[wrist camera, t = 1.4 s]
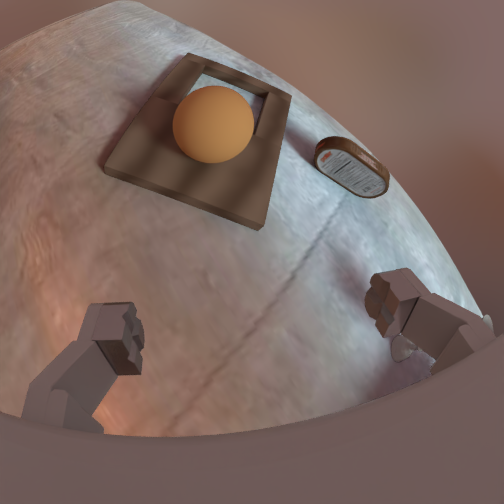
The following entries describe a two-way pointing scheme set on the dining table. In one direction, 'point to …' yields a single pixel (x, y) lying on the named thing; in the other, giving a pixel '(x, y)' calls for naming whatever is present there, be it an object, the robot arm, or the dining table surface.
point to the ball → (213, 124)
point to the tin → (351, 167)
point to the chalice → (405, 347)
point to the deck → (195, 172)
